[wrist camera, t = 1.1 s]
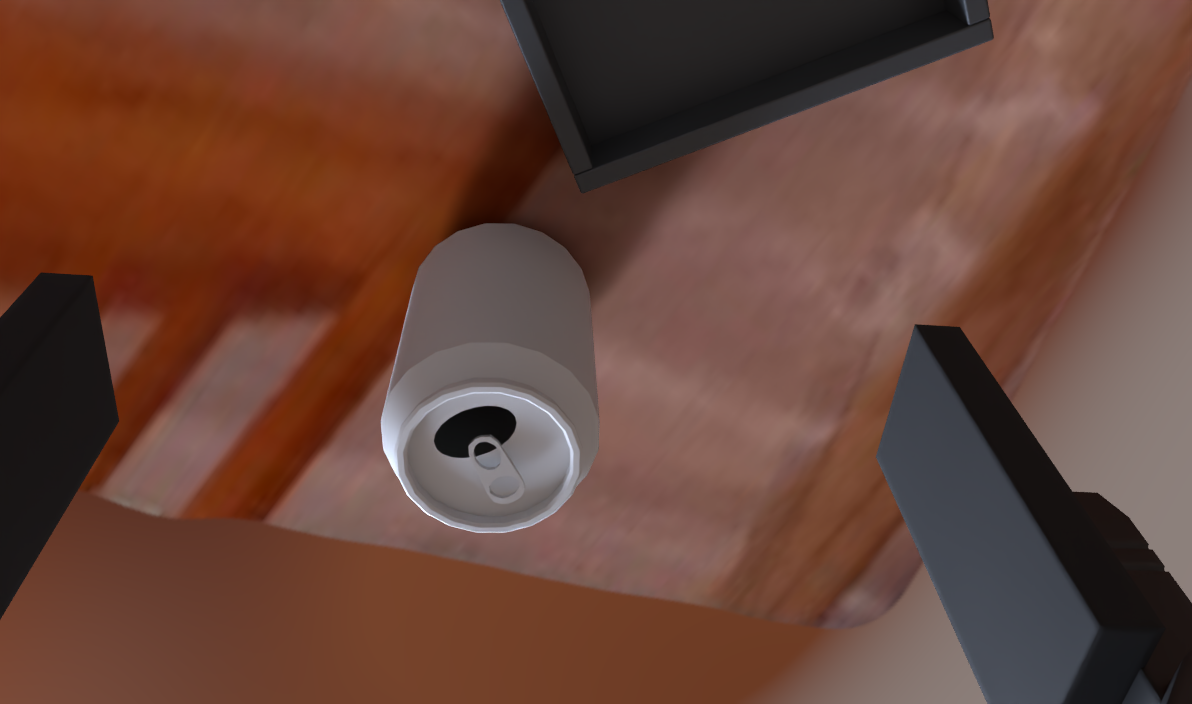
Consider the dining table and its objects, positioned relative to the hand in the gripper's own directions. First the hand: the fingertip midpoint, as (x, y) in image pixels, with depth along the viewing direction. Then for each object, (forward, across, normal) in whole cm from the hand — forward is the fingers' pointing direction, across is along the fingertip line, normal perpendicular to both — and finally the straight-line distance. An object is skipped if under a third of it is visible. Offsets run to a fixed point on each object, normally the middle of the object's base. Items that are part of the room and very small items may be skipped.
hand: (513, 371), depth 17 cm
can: (+25, 0, -12) cm, 28 cm away
